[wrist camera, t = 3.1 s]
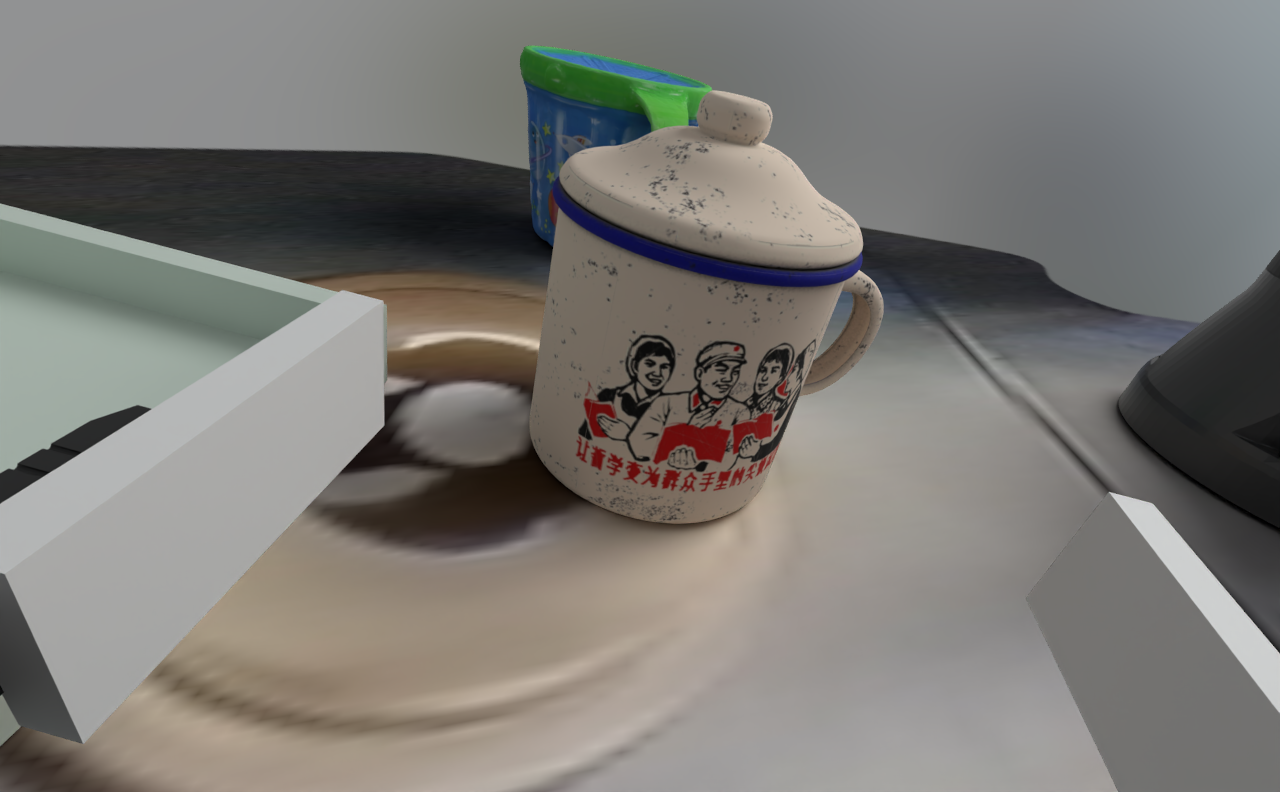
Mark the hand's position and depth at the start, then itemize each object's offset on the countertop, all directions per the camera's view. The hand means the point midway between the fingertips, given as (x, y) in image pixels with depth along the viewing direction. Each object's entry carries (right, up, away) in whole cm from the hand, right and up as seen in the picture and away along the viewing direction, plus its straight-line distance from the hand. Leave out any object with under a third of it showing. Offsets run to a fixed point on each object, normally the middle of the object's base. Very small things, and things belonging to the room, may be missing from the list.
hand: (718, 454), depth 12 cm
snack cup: (-5, +11, +28) cm, 31 cm away
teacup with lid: (0, -1, +12) cm, 12 cm away
